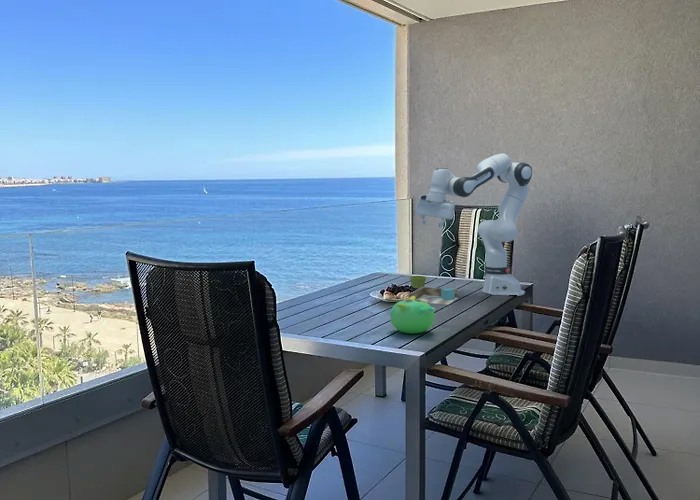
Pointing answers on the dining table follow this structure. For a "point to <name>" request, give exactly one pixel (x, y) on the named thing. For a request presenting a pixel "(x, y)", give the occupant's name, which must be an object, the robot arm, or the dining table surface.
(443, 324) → the dining table surface
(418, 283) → the plant pot
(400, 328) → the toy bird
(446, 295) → the cube
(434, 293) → the arena
